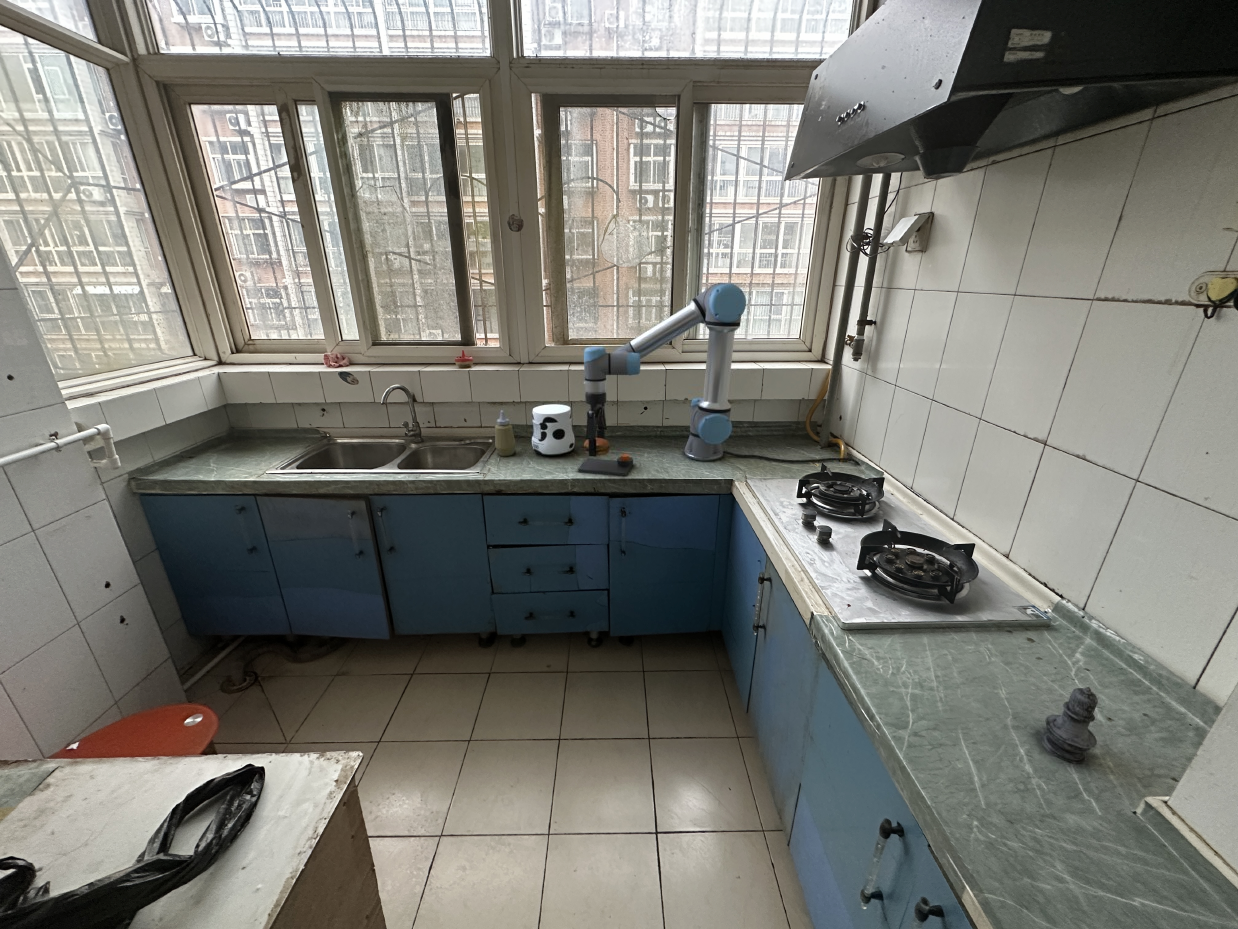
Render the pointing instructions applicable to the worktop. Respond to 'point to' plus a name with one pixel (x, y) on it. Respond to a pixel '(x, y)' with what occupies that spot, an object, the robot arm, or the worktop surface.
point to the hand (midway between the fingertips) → (597, 451)
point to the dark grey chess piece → (1072, 727)
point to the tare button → (625, 457)
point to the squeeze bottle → (504, 436)
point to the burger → (599, 446)
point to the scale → (607, 466)
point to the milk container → (552, 430)
